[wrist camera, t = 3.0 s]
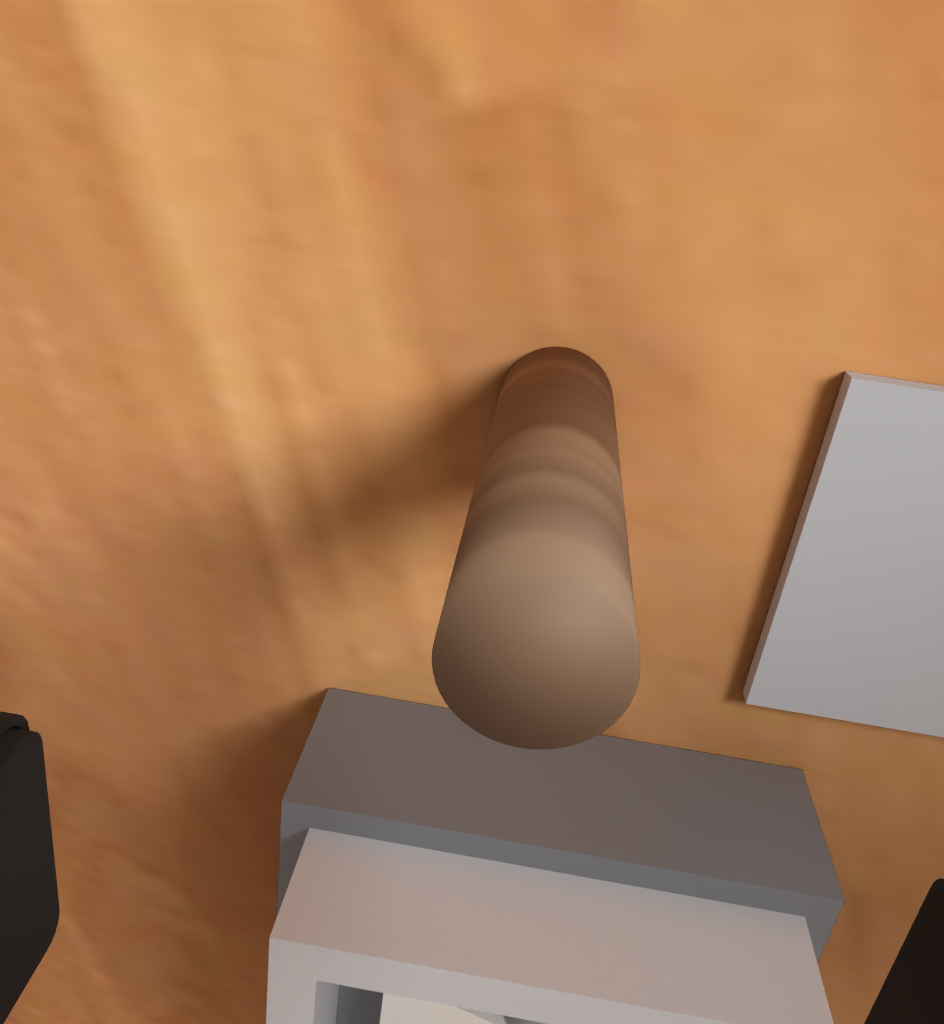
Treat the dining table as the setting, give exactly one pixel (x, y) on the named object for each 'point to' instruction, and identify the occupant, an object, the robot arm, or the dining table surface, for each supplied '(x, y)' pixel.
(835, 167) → the dining table surface
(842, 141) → the dining table surface
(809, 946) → the grey switch housing
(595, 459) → the brown cylinder
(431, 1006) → the rocker
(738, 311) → the dining table surface
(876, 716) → the mat
